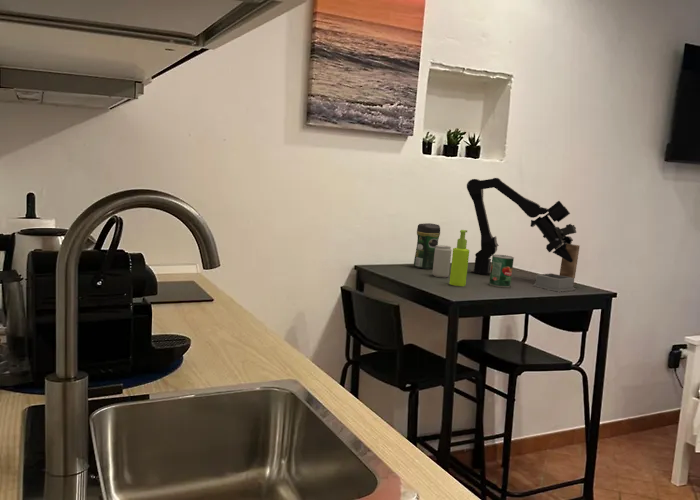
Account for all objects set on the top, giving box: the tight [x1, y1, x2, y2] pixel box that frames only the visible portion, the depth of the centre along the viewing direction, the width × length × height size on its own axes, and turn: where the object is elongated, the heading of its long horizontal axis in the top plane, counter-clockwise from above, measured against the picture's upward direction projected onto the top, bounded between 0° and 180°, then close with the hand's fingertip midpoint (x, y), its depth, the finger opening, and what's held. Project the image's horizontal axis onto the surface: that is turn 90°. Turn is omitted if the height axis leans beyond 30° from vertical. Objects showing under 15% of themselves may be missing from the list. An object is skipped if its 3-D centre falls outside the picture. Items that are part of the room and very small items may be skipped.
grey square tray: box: [533, 272, 576, 293], centre depth 244 cm, size 11×11×4 cm
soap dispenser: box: [448, 229, 470, 287], centre depth 233 cm, size 6×7×20 cm
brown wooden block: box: [559, 243, 581, 279], centre depth 250 cm, size 5×4×13 cm
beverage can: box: [432, 244, 453, 278], centre depth 248 cm, size 6×6×12 cm
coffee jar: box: [413, 222, 441, 270], centre depth 266 cm, size 10×8×19 cm
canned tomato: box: [488, 254, 515, 288], centre depth 240 cm, size 8×8×11 cm
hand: (573, 261), depth 249 cm, fingers closed on brown wooden block, 4 cm apart
